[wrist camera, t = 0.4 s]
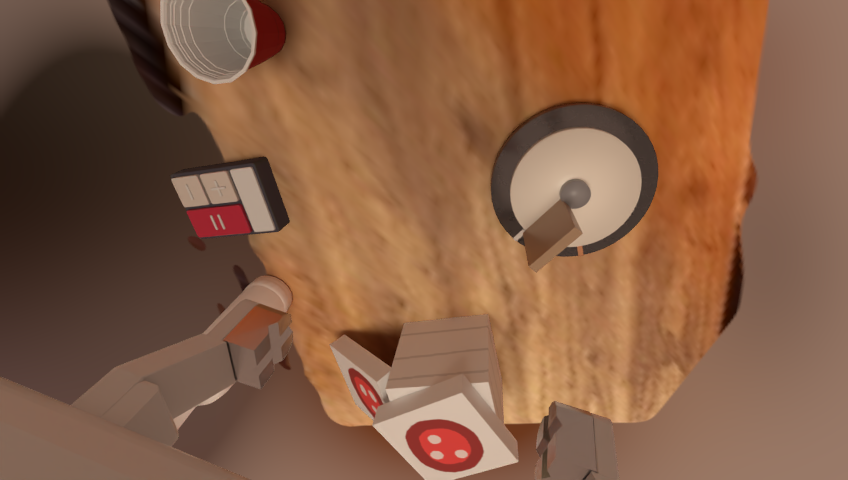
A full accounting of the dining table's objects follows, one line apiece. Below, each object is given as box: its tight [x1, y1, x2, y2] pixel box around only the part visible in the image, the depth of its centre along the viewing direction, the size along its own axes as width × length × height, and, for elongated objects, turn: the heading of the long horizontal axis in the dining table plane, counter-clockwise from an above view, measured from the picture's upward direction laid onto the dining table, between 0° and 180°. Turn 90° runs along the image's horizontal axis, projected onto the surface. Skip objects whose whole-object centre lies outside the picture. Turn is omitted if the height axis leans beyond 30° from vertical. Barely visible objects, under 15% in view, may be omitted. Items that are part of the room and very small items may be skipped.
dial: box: [510, 127, 642, 272], centre depth 48 cm, size 16×16×10 cm
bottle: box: [173, 275, 292, 430], centre depth 57 cm, size 8×8×30 cm
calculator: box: [171, 157, 290, 239], centre depth 61 cm, size 11×4×15 cm
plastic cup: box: [160, 0, 286, 84], centre depth 45 cm, size 11×11×12 cm
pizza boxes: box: [330, 314, 518, 480], centre depth 64 cm, size 19×30×18 cm, turn 104°
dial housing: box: [491, 103, 658, 256], centre depth 53 cm, size 21×21×2 cm
